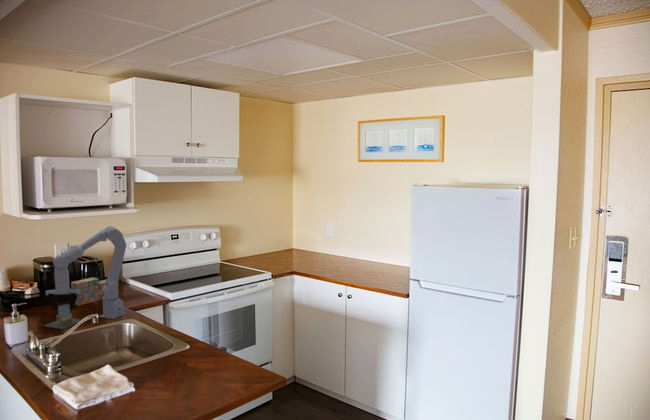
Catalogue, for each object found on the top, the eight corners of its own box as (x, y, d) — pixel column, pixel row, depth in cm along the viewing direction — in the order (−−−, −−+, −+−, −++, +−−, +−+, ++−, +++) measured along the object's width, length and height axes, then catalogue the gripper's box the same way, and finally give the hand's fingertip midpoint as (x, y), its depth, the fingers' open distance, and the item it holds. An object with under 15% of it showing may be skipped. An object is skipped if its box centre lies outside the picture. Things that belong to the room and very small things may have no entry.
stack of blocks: (109, 294, 267) (108, 273, 266) (115, 296, 263) (114, 275, 262) (72, 304, 250) (70, 281, 249) (77, 306, 246) (76, 283, 245)
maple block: (72, 321, 219) (71, 313, 219) (63, 324, 215) (63, 316, 215) (65, 320, 221) (65, 312, 221) (56, 323, 217) (56, 315, 216)
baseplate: (85, 321, 221) (85, 320, 221) (62, 329, 210) (62, 328, 210) (67, 318, 226) (67, 317, 226) (44, 326, 215) (44, 325, 215)
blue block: (70, 314, 217) (69, 306, 217) (59, 316, 214) (58, 308, 214) (69, 312, 221) (68, 304, 220) (58, 314, 218) (57, 305, 218)
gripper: (82, 278, 221) (83, 306, 222) (50, 279, 219) (52, 307, 221) (75, 282, 214) (77, 310, 215) (42, 283, 212) (44, 311, 214)
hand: (64, 309), depth 217 cm, fingers open, 7 cm apart
